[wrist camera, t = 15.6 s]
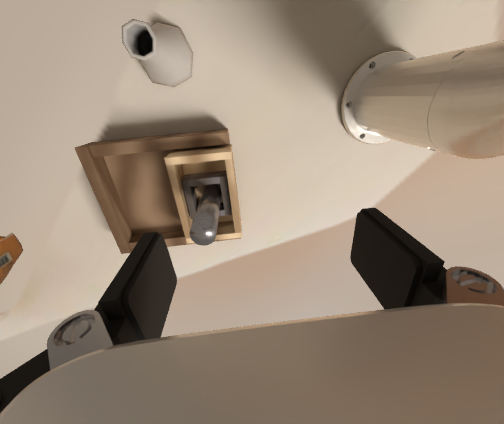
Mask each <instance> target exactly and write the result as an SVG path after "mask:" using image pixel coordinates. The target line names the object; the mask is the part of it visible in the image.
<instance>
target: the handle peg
mask: <svg viewBox="0 0 504 424" xmlns="http://www.w3.org/2000/svg"><path fill="white" fill-rule="evenodd" d="M221 195H222V191H221V187H220V186H219V185H218V184H209V185H206V186H205V187H204V190H203V193H202V196H201V199H200V202H199V205H198V208H197V211H196V214H195V217H194V220H193V223H192V226H191V229H190V233H189V235H190V238H191V240H192V241H193V242H194V243H196V244H198V245H209V244H211V243H212V242H213V241H214V240H215V238H216V233H217V225H218V218H219V210H220V202H221Z"/></svg>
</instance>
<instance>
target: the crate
mask: <svg viewBox="0 0 504 424" xmlns="http://www.w3.org/2000/svg"><path fill="white" fill-rule="evenodd" d="M164 159H165V163H166V167H167V171H168V175H169V178H170V182H171V186H172V190H173V193H174V197H175V201H176V205H177V208H178V212H179V216H180V220H181V223H182V227H183V231H184V235H185V238H186V242H187V244H189V243H194V242H193V241H192V240H191V238H190V235H189V233H190V229H191V226H192V223H193V220H194V217H195V214H196V211H197V208H198V205H199V202H200V199H201V196H202V193H203V190H204V187H205V186H206V185H209V184H218V185H219V186H220V187H221V191H222V195H221V202H220V210H219V218H218V225H217V233H216V238H215V240H214V241H216V240H225V239H234V238H242V231H241V219H240V210H239V202H238V194H237V186H236V178H235V169H234V161H233V153H232V145H221V146H211V147H201V148H191V149H181V150H173V151H172V152H171V153H169V154H168V155H167V156H166V157H165V158H164Z"/></svg>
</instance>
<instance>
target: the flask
mask: <svg viewBox="0 0 504 424" xmlns="http://www.w3.org/2000/svg"><path fill="white" fill-rule="evenodd" d="M122 39H123V40H122V41H123V44H124V46H125V47H126V49H127V51H128V52H129V54H130V56H131V57H132V58H136V59H139V61H140V62H141V64H142V66H143V67H144V69H145V71H146V72H147V74H148V76H149V77H150V79H151V80H152V82H153V83H157V84H162V85H166V86H171V87H175V86H177V85H179V84H180V83H182V82H184V81H185V80H187V79H189V78H191V74H192V59H193V52H192V50H191V48H190V46H189V44H188V42H187V40H186V38H185V36H184V34H183V32H182V30H181V28H178V27H174V26H170V25H166V24H162V23H159V22H157V23H155V24H154V25H152V26H151V27H150V26H149V24H148V23H146V22H143V21H138V20H135V19H132V20H131V21H129V22H128V23H126V24H125V25H123V26H122Z"/></svg>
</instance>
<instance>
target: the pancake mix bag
mask: <svg viewBox="0 0 504 424" xmlns="http://www.w3.org/2000/svg"><path fill="white" fill-rule="evenodd" d="M22 251H23V249H22V245H21V243H20V242H19V240H18V239H17V238H16V236H15V235H14V234H13V233H11V234H10V235H8V236H7V237H2V236H0V284H1V283H2V281H3V280H4V279H5V278H6V276H7V274H8V273H9V271H10V270H11V268H12V266H13V265H14V263H15V262H16V260H17V259H18V257H19V256H20V254H21V253H22Z"/></svg>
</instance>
